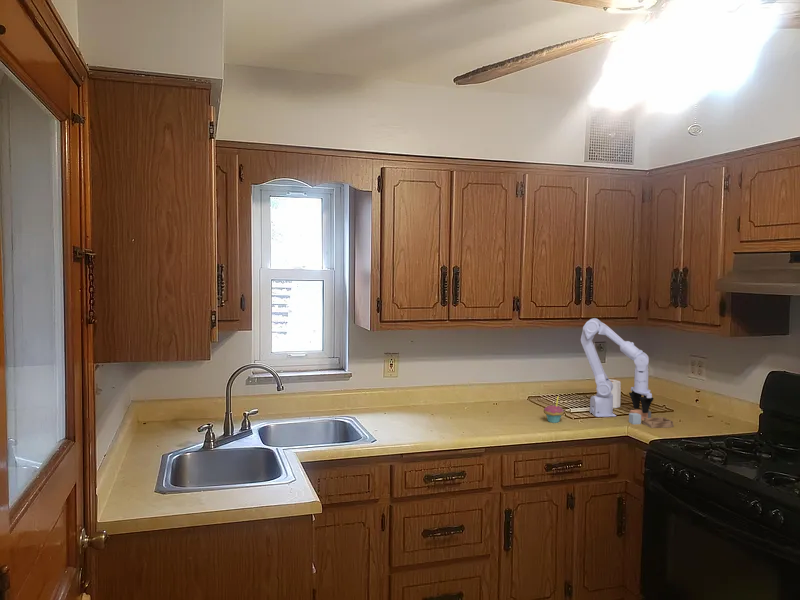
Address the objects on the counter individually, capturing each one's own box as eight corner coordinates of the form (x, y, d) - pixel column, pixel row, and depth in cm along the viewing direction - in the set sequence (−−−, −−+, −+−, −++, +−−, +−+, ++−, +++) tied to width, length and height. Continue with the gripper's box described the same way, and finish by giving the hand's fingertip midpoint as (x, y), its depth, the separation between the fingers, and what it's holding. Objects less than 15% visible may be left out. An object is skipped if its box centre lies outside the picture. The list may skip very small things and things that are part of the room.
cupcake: (563, 419, 261) (564, 392, 260) (563, 424, 253) (564, 397, 252) (543, 418, 263) (544, 391, 262) (543, 423, 255) (543, 396, 254)
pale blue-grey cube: (632, 424, 253) (633, 415, 253) (628, 422, 257) (629, 413, 256) (640, 424, 253) (641, 415, 253) (636, 422, 257) (636, 412, 257)
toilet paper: (597, 407, 282) (598, 382, 282) (598, 402, 292) (598, 378, 291) (620, 409, 279) (620, 383, 278) (620, 404, 289) (620, 379, 288)
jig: (651, 428, 247) (651, 422, 247) (641, 422, 255) (641, 417, 255) (673, 427, 248) (673, 422, 248) (663, 422, 256) (663, 417, 256)
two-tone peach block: (633, 420, 260) (633, 412, 260) (629, 417, 263) (629, 410, 263) (650, 419, 261) (651, 411, 260) (646, 417, 264) (646, 409, 264)
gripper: (658, 383, 254) (658, 414, 255) (641, 376, 269) (640, 406, 269) (643, 383, 253) (642, 415, 254) (626, 377, 268) (626, 406, 269)
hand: (640, 410), depth 262 cm, fingers open, 7 cm apart
